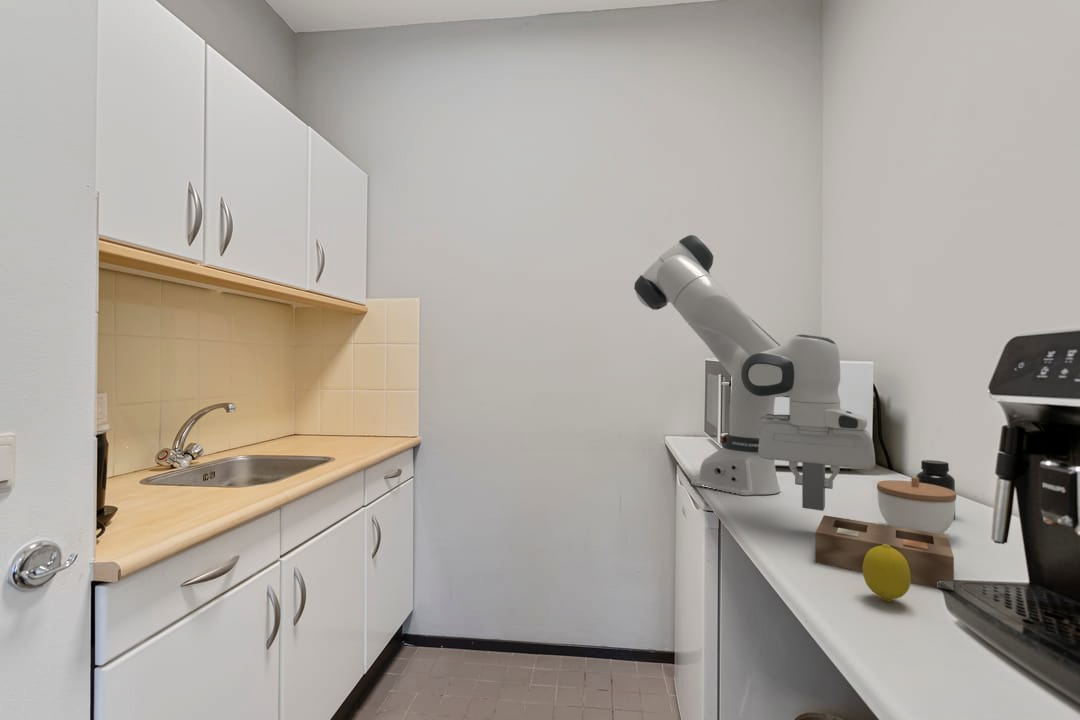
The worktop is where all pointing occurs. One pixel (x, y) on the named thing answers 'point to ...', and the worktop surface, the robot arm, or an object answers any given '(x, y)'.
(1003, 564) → the worktop surface
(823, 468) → the plug
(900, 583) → the lemon
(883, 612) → the worktop surface
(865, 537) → the socket block
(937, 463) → the supplement bottle
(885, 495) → the lidded bowl
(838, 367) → the robot arm
